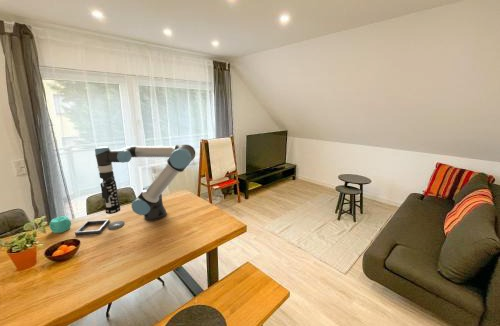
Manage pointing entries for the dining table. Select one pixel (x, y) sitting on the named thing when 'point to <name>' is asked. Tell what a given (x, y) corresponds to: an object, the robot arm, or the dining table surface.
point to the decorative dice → (60, 224)
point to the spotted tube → (112, 199)
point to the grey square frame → (92, 232)
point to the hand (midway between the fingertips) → (112, 203)
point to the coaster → (115, 225)
